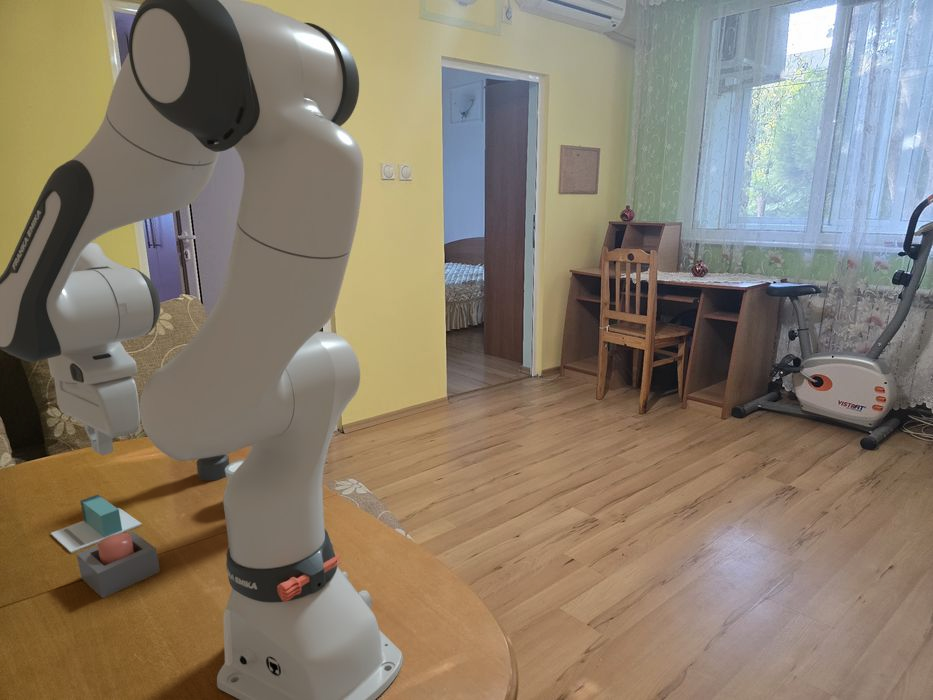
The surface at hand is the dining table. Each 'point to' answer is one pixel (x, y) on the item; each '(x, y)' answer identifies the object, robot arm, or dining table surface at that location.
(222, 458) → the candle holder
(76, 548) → the sketch sheet
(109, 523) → the teal rectangular block
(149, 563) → the button box
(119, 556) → the button
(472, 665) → the dining table surface
